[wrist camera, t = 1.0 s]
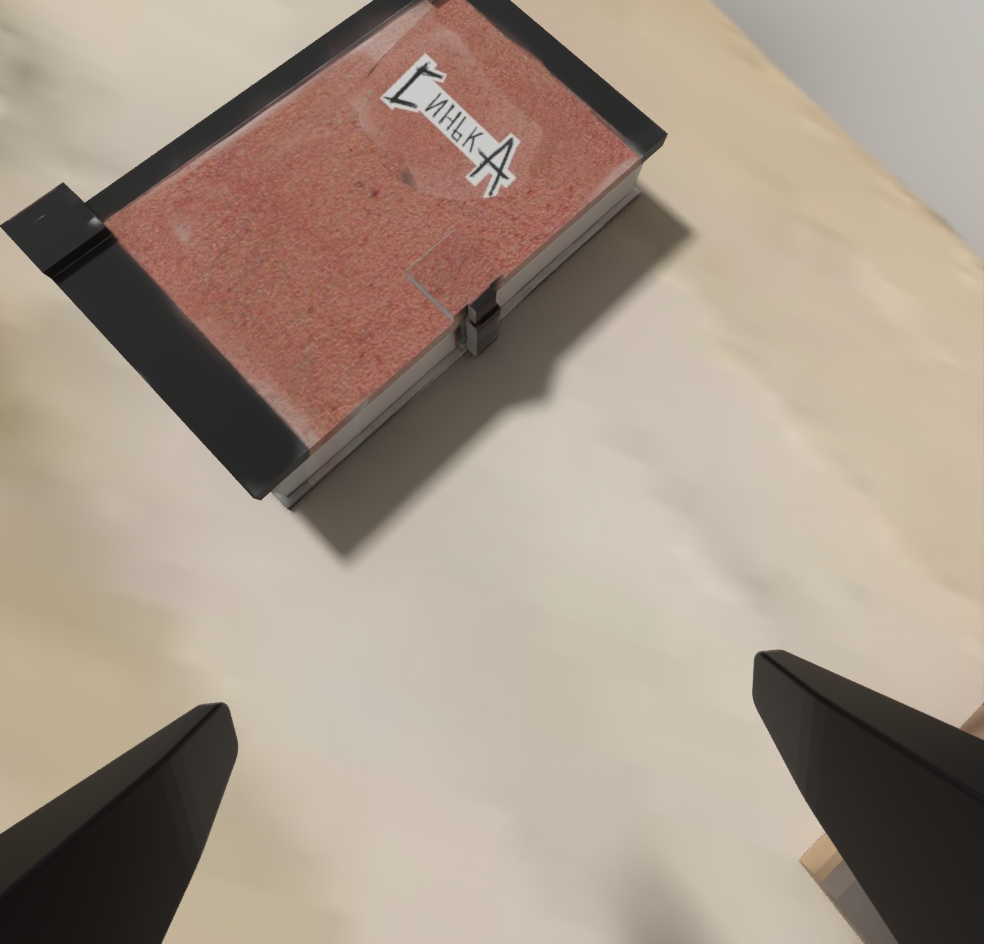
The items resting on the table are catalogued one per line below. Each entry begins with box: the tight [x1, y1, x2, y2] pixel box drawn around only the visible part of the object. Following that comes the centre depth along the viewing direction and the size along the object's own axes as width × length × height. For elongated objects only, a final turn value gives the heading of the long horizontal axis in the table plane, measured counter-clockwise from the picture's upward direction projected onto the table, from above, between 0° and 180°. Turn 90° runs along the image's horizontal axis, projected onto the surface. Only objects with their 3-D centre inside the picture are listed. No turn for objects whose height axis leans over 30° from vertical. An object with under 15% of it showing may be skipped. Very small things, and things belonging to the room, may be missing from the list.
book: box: [0, 0, 668, 510], centre depth 25 cm, size 26×18×5 cm
